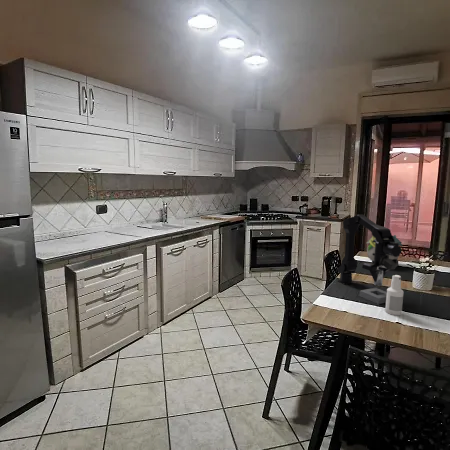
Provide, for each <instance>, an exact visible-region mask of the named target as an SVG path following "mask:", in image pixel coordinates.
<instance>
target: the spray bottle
mask: <svg viewBox="0 0 450 450" xmlns="http://www.w3.org/2000/svg"><path fill="white" fill-rule="evenodd" d="M401 279H402V277H401V275H398V274H395V275H392V277H391V283H390V287H388V288H387V289H386V292H387V297H386V303H385V309H384V311H385V312H386V313H387V314H388V315H389V314H390V315H391V316H392V315H393V316H401V315H402V314H403V313H402V311H403V302H404V301H403V300H404V290H403V289H402V288H401V286H402V285H401V284H402V283H401V282H402V280H401Z"/></svg>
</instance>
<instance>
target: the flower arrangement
mask: <svg viewBox="0 0 450 450" xmlns="http://www.w3.org/2000/svg"><path fill="white" fill-rule="evenodd" d="M392 236H393V238H394V241H395V242H394V243H399V245H398V246H400V248H401V252H402V251H403V249H402V247H403V244H402V241H401V240H400V239H399V238H397V235H396V234H393V235H392ZM375 239H376V238H375V237H374V236H373V235H372V236H371V237H370V238H369V239H368V240H367V241H366V244H368V245H367V249H366V250H367V251H366V254H367V255H366V256H367V259H368V258H369V260H370V261H371V262H372V261H374V255H373V253H375V242H373V240H375ZM382 240H386V239H382ZM387 255H388V254H387ZM399 257H400V255H399V256H398V257H394V256H391V255H389V259H392V260H393V259H397V260H399Z"/></svg>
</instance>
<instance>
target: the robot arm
mask: <svg viewBox="0 0 450 450" xmlns="http://www.w3.org/2000/svg"><path fill="white" fill-rule="evenodd" d="M342 224H343V225H342V226H343V230H344V231H345V247H344V257H343V259H342V260H341V264H340V266H339V267H337V272H338V273H339V280H337V282H339V283H342V284H344V285H350V284H351V285H352V284H354V282H353V274H355V273H356V270H357V268H358V260H356V259H355V241H356V233H357V231H358V229H359V226H363V227H364V228H365V229H367V230H368V231H370V232H371V235H372V236H374V237H375V238H376V239H375V240H373V242H375V253H373V255H374V261H372V260H371V262H364V263H362V265H361V266H362V269H364V270H367V271H369V273H370V275H371V276H372V279H373V282H374V281H375V282H376V281H377V276H378V272H379V271H380V270H378V269H381V270H383V279H384V278H385V276H386V273H387V272H388V271H391V270H395V269H396V268H397V267H399V259H393V260H392V259H389V255H391V256H394V257H398V256H399V257H400V256H401V254H402V251H401V249H402V247H401V245H399V243H394V242H395V241H394V238H393V236H394V235H392V232H391V229H389V227H388V228H387V227H385V226H383V225H382V226H381V225H379V224H377V223H375V222H374V221H372V220H371V219H369V218H368V217H367V216H366V215H364V214H356V215H354V216H351V217H348V218H344V219H343V222H342ZM382 239H386V240H382ZM398 245H399V246H398ZM400 247H401V248H400ZM387 254H388V255H387ZM399 257H398V258H399Z"/></svg>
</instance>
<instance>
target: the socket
mask: <svg viewBox="0 0 450 450" xmlns="http://www.w3.org/2000/svg"><path fill="white" fill-rule="evenodd" d="M358 295H359V297H361V298H363V299H365V300H367V301H371V302H373V303H375V304H377V305H380V304H384V303H385V304H386V297H387V290H383V289H379V288H377V287H372V288H367V289H362V290H359V294H358Z"/></svg>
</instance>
